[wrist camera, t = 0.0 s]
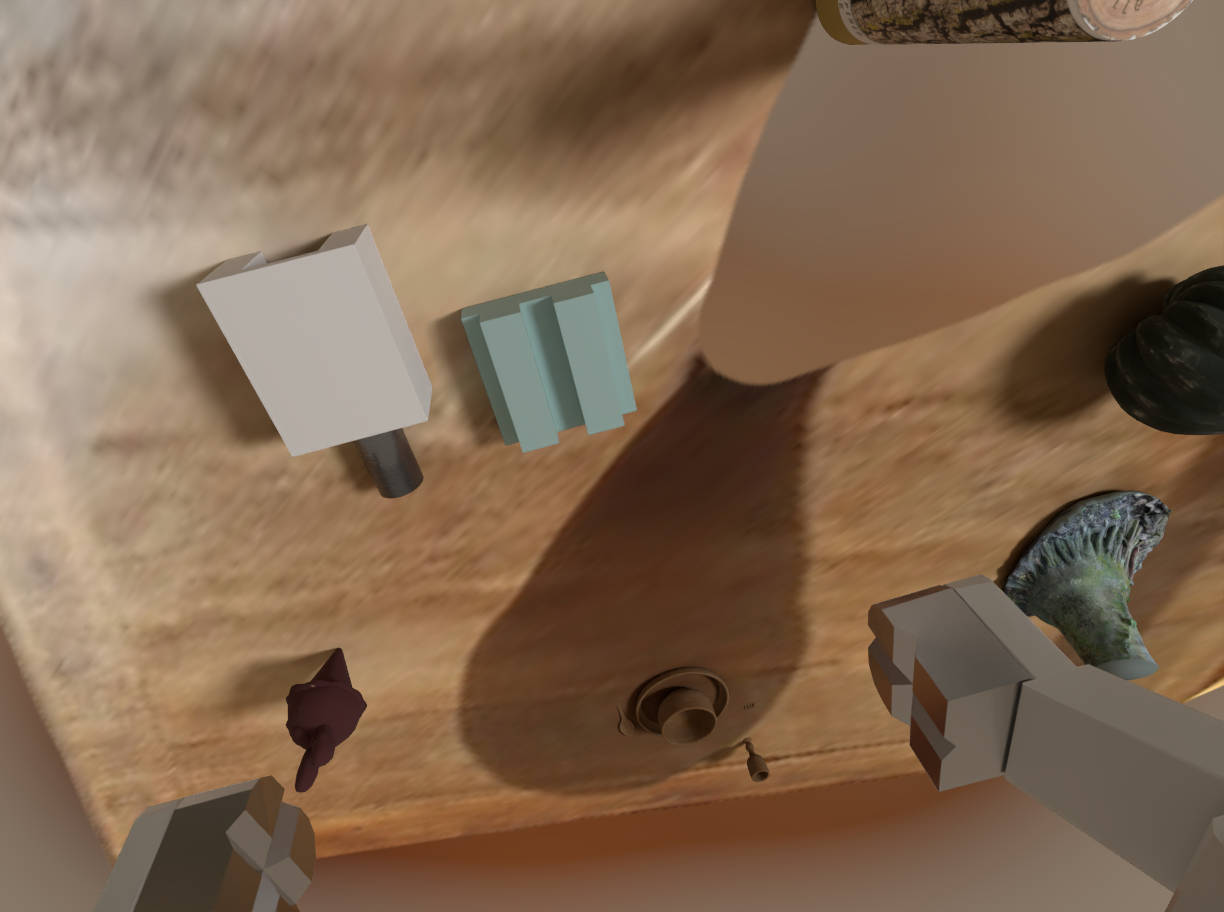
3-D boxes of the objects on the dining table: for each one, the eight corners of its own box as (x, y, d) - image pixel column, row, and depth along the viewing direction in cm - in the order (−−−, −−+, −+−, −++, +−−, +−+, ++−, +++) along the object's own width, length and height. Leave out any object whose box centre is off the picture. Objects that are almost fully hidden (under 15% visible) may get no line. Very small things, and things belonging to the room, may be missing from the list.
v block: (461, 308, 55) (460, 327, 51) (604, 271, 55) (613, 287, 51) (504, 432, 61) (506, 457, 57) (631, 398, 61) (641, 421, 58)
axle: (315, 339, 54) (304, 358, 51) (364, 326, 54) (356, 345, 51) (382, 478, 62) (376, 503, 58) (425, 466, 62) (421, 490, 58)
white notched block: (225, 260, 50) (196, 284, 45) (367, 224, 50) (354, 244, 45) (309, 419, 57) (292, 456, 52) (432, 387, 58) (427, 420, 53)
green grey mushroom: (1188, 534, 83) (1267, 676, 72) (1019, 583, 95) (1064, 712, 84) (1143, 466, 74) (1226, 618, 63) (961, 530, 86) (1003, 667, 74)
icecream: (317, 616, 68) (280, 744, 56) (387, 637, 71) (367, 764, 59) (291, 660, 71) (250, 793, 58) (359, 679, 74) (334, 809, 61)
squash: (1234, 305, 67) (1408, 364, 55) (1109, 417, 72) (1242, 495, 60) (1173, 220, 61) (1353, 264, 49) (1041, 349, 66) (1173, 419, 54)
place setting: (740, 642, 82) (757, 681, 77) (760, 738, 93) (776, 777, 88) (603, 685, 82) (611, 726, 77) (639, 776, 92) (648, 817, 87)
